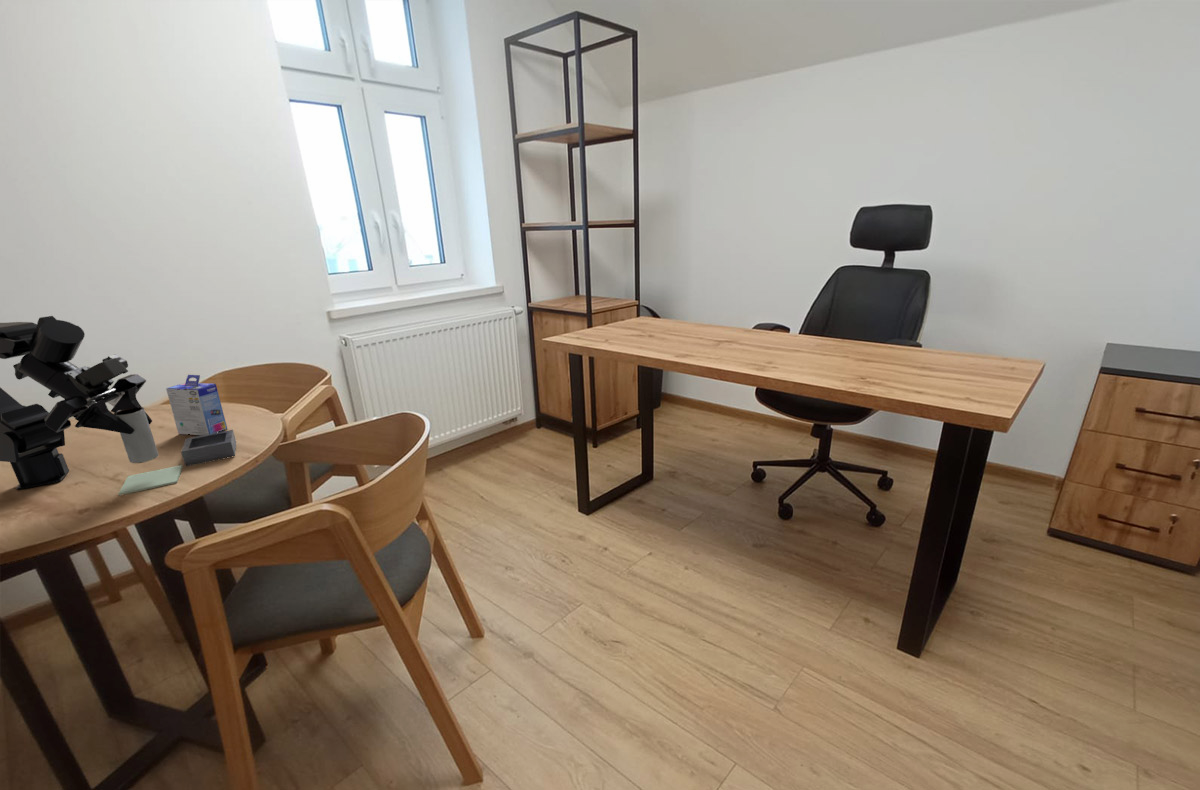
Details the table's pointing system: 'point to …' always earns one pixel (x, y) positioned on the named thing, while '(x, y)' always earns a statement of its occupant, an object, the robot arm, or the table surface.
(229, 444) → the collar
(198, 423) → the ink cartridge box
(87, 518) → the table surface
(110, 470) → the table surface
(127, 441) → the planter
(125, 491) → the mat
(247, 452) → the table surface
